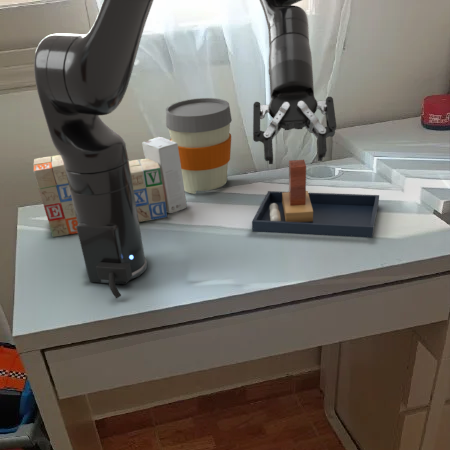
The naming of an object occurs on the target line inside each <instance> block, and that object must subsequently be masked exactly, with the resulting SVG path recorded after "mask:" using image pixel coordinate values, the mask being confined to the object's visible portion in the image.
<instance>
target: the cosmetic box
mask: <svg viewBox="0 0 450 450" xmlns="http://www.w3.org/2000/svg"><path fill="white" fill-rule="evenodd" d="M141 145H142V149H143V155H144V159H146V158H148V159H150V160H153V161H155V162H157V163H158V165H159V167H160V171H161V177H162V184H163V189H164V196H165V204H166V211H167V214H174V213H176V212H179V211H182V210H184V209H187V207H188V203H187V198H186V191H185V189H184V183H183V176H182V170H181V163H180V157H179V150H178V143H175V142H173V141H170V139H168V138H165V137H162V136H156V137H154V138H151V139H148V140H144V141H142V143H141Z"/></svg>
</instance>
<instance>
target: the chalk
mask: <svg viewBox="0 0 450 450" xmlns="http://www.w3.org/2000/svg"><path fill="white" fill-rule="evenodd" d="M269 212H270V220H271V221H281V217H280V210H279V206H278V205H277V204H276V203H273V204H271V205H270V206H269Z"/></svg>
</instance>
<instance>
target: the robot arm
mask: <svg viewBox="0 0 450 450" xmlns="http://www.w3.org/2000/svg"><path fill="white" fill-rule="evenodd" d="M302 1H303V0H259V3H260V5H261V8H262V10H263V13H264V17H265V21H266V25H267V26H266V27H267V31H268V33H267V34H268V49H269V52H268V77H269V94H270V101H269V103H268V104H261V102H259V101H255V102H254V103H253V107H252V109H253V110H252V113H253V115H252V119H253V120H252V121H253V123H252V140H253V141H254V142H255V143H258V142H260V143H262V144H263V154H264V156H263V157H264V160H265V162H268V165H273V164H274V149H273V140H274V138H275V137H276V136H278V134H279V132H280V131H281V129H283V130H284V131H290V130H293V129H294V130H303V129H304V128H305V129H306V130H307V131H308V132H309V133H310V134H312V135H313V136H314V137H315V138H316V153H317V154H316V155H317V161H318V162H322V161H323V158H325V157H326V155H327V152H328V151H327V150H328V149H327V139H328V138H329V137H330V138H332V137H334V136H335V134H336V129H337V120H336V119H337V118H336V113H335V104H334V103H335V102H334V98H333V97H332V96H327V97H326V98H325V99H323V100H317V99H316V97H315V89H314V73H313V59H312V58H313V57H312V51H311V46H310V45H311V44H310V34H309V33H310V31H309V19H308V15H307V13H306V11H305V10H304V9H303V8H302V7H301V6H297V5H294V4H297V3H299V2H302ZM153 3H154V0H102V3H101V6H100V9H99V11H98V13H97V16H96V19H95V21H94V23H93V25H92V27H91V28H90V30H89V31H88V32H87V33H86V34H79V33H53V34H49V35H47V36H45V37H44V38H42V40H41V41H40V42H39V43H38V46H37V47H36V49H35V53H34V59H33V75H34V83H35V86H36V91H37V94H38V99H39V102H40V105H41V109H42V111H43V117H44V119H45V122H46V125H47V126H46V127H47V130H48V133H49V137H50V139H51V142H52V144H53V147H54V148H55V150H56V151H57V153H58V155H60V156H61V158H62V160H63V164H64V167H65V172H66V176H67V180H68V184H69V189H70V193H71V197H72V201H73V206H74V210H75V214H76V218H77V222H78V225H77V232H78V233H77V235H78V240H79V244H80V248H81V252H82V256H83V260H84V264H85V269H86V272H87V277H88V281H89V283H97V284H98V283H99V284H108V286H109V290H110V291H111V293H112V295H113V296H114V297H115V299H118V298H120V297H122V294H121V292H120V291H119V290H118V288H117V286H116V285H126V284H127V283H128V282H129V281H131V280H134V279H136V278H138V277H141V275H142V274H144V272H145V271H146V270H147V268H148V263H147V257H146V255H145V250H144V249H145V248H144V243H143V237H142V232H141V231H142V230H141V225H140V222H139V219H138V213H137V207H136V201H135V196H134V190H133V184H132V177H131V171H130V166H129V161H130V160H129V156H128V154H129V153H128V148H127V144H126V141H125V139H124V138H123V137H122V136H121V135H120V134H119V133H117V132H116V131H115V130H113V129H112V128H111V127H109V126H108V125H107V124H106V122H104V121H103V119H102V118H101V117H100V116H107V115H109V114H111V113H114V111H115V110H116V109H118V107H119V106H120V104H121V103H122V101H123V99H124V98H125V94H126V93H127V89H128V87H129V84H130V81H131V77H132V74H133V70H134V66H135V63H136V59H137V55H138V51H139V48H140V45H141V40H142V37H143V33H144V29H145V26H146V23H147V19H148V17H149V14H150V12H151V9H152V5H153ZM317 110H319V111H320V113H321V115H323V116H325V123H326V126H325V125H323V124H322V123H321V122H320V120H319V118H318V116H317V115H316V112H317ZM266 114H269V116H271V118H272V119H271V120H270V123H269V125H268V127H267V128H266V130H265V131H263V130H261V120H263V119H265V117H266Z"/></svg>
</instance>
